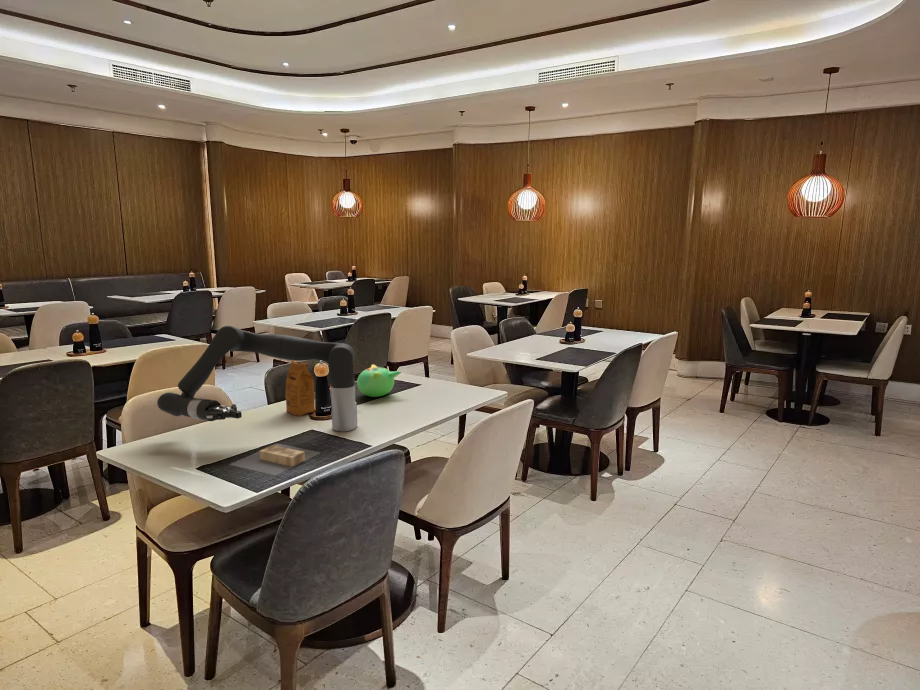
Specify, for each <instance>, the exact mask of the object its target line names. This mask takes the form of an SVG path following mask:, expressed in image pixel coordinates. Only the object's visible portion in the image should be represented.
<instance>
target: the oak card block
mask: <svg viewBox="0 0 920 690" xmlns="http://www.w3.org/2000/svg"><path fill="white" fill-rule="evenodd" d="M259 451H260V459H261V460H266V461H270V462H275V463H279V464H284V465H288V466H294V465H296V464H298V463H300V462H302V461H304V460H305V452H304V451H299V450H294V449H289V448H284V447H280V446H275V444H272V445H270V446H267V447H265V448H262V449H260V450H259ZM304 462H305V461H304ZM302 463H303V462H302ZM300 464H301V463H300ZM298 465H299V464H298ZM296 466H297V465H296ZM294 467H295V466H294Z"/></svg>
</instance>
